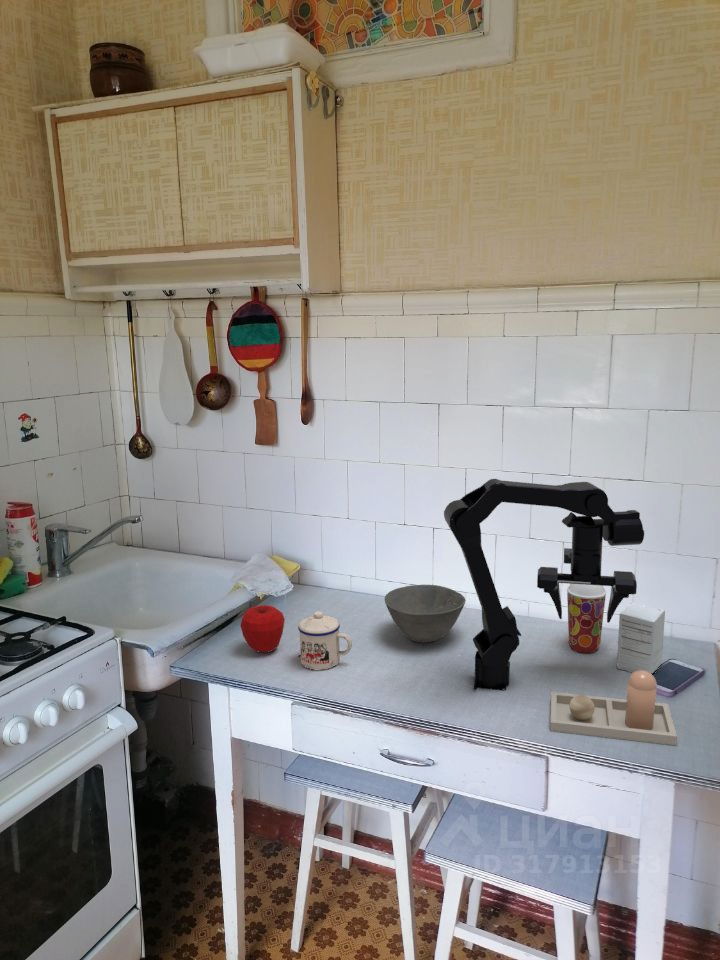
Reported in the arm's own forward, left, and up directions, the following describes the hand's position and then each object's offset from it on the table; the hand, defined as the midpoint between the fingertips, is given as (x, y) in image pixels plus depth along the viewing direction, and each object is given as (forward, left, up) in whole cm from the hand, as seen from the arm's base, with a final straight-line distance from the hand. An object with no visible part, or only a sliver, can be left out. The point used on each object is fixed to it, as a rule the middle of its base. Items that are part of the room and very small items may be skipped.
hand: (584, 620), depth 146 cm
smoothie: (+1, +15, -13) cm, 20 cm away
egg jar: (+9, -16, -12) cm, 23 cm away
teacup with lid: (-54, -4, -13) cm, 56 cm away
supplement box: (+12, +8, -13) cm, 20 cm away
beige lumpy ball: (-1, -16, -13) cm, 21 cm away
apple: (-70, -1, -13) cm, 71 cm away
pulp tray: (+4, -16, -13) cm, 21 cm away
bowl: (-35, +13, -13) cm, 40 cm away
